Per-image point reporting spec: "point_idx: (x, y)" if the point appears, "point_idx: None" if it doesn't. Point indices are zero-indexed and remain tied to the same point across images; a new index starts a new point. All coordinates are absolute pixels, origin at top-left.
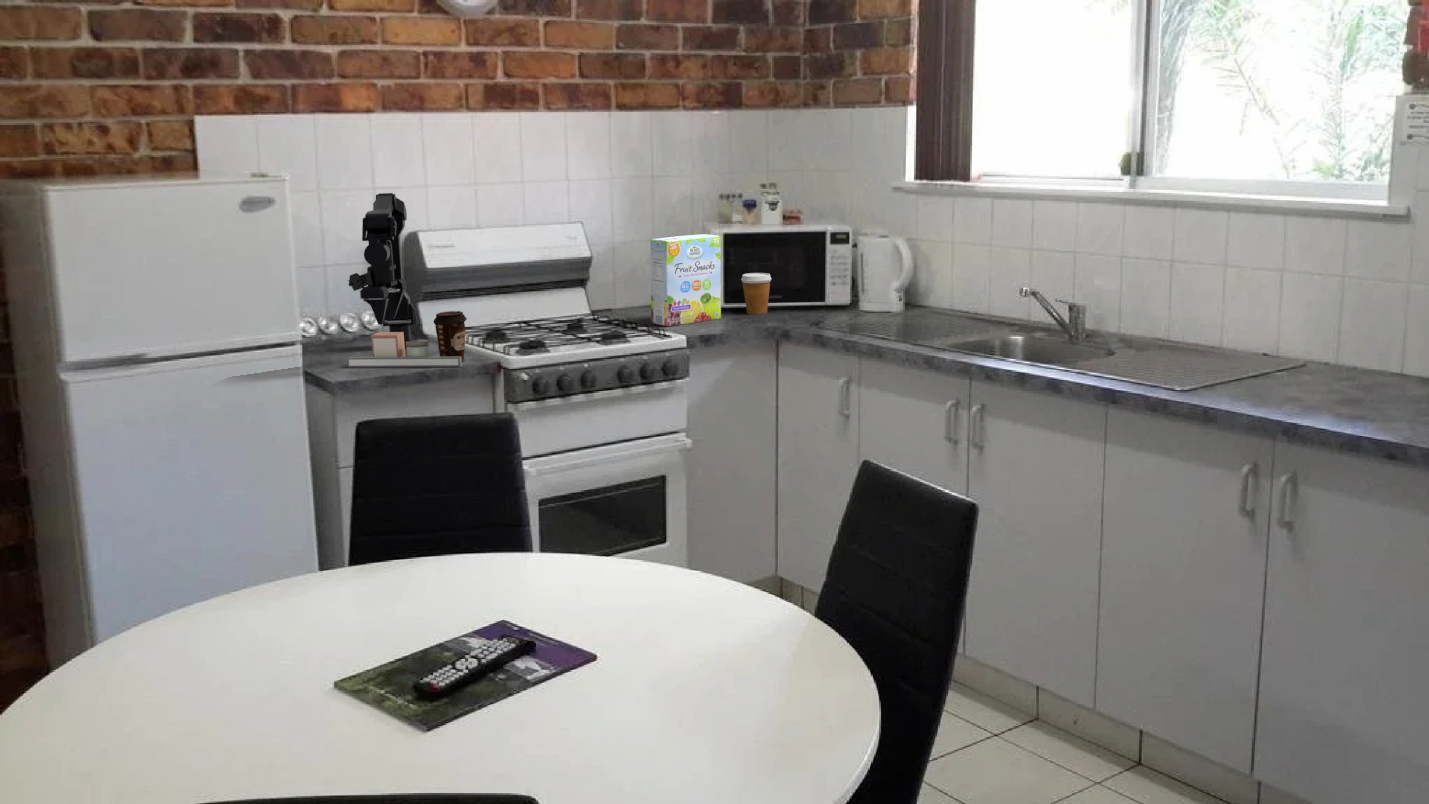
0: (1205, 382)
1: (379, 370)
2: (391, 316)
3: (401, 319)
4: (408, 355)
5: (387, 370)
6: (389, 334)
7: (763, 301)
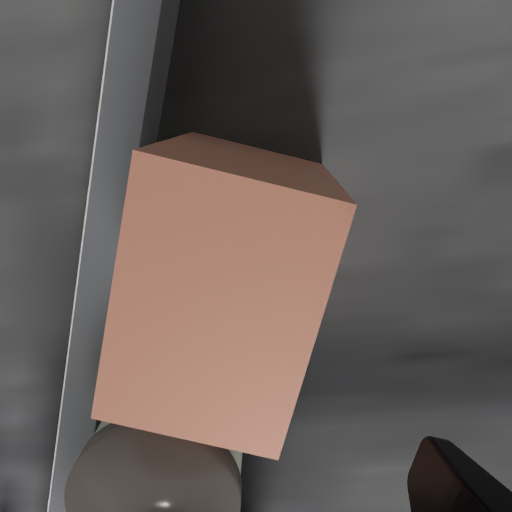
0: None
1: (10, 193)
2: (428, 478)
3: None
4: None
5: (5, 243)
6: (156, 345)
7: None
